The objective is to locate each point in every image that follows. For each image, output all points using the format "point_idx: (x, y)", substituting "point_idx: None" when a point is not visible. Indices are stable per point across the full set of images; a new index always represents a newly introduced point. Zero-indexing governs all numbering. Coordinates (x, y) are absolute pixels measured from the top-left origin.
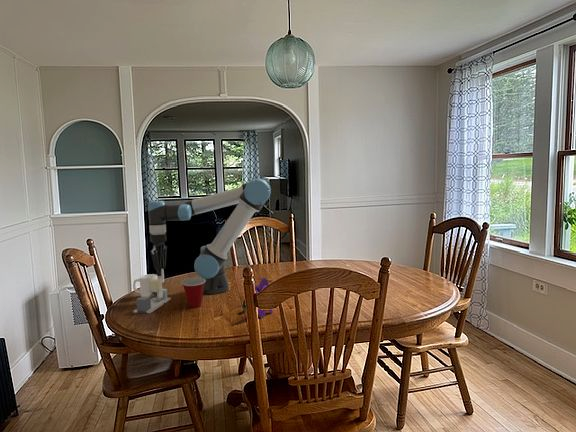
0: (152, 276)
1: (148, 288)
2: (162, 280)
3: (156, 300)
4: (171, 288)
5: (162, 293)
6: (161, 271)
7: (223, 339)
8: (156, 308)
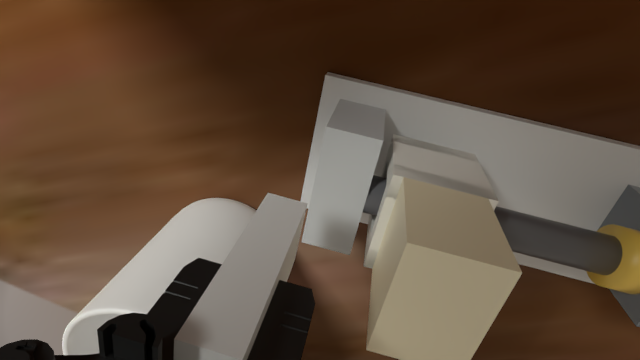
0: (84, 332)
1: None
2: (301, 221)
3: None
4: (32, 132)
5: (405, 151)
6: (257, 330)
7: None
8: (609, 139)
